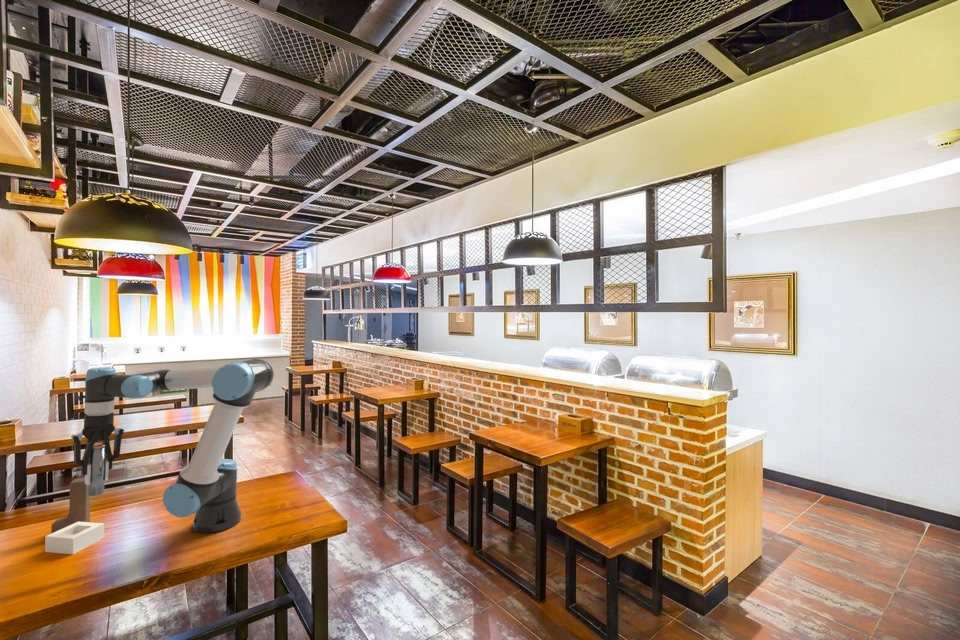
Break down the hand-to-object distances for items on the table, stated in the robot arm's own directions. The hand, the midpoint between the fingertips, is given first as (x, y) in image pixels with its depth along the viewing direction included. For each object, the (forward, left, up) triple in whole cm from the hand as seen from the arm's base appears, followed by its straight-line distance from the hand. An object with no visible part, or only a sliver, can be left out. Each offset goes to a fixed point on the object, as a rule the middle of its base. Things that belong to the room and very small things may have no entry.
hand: (96, 481), depth 143 cm
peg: (0, 0, -4) cm, 4 cm away
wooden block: (+12, -3, -20) cm, 23 cm away
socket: (+2, +4, -19) cm, 20 cm away
